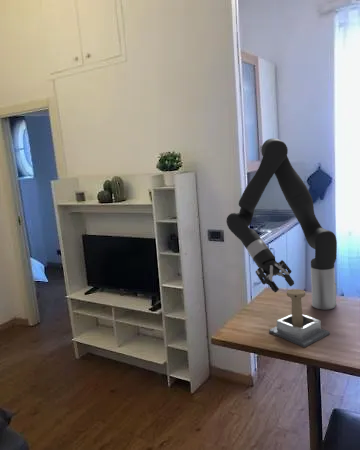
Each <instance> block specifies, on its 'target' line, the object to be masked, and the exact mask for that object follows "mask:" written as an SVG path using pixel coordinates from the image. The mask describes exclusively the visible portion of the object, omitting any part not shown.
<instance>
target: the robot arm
mask: <svg viewBox="0 0 360 450" xmlns="http://www.w3.org/2000/svg"><path fill="white" fill-rule="evenodd" d="M288 150H289V149H288V145H286V143H285V142H284V141H282V140H281V139H279V138H268V139H267V140H265V141H264V142H263V144H262V145H261V151H260V152H261V155H262V158H261V160H260V164H259V166H258V168H257V171H256V172H255V174H254V175H253V177H252V178H251V179H250V181H249V182H248V184H247V185H246V187H245V188H244V190H243V192H242V195H241V196H240V199H239V201H238V206H239V207H240V209H239V212H233V213H232V212H231V213H229V214H228V215H227V217H226V225H227V228H228V229H229V231H230V232H231V233H232V234H234V235H235V237H236V238H237V239H239V241H240V242H241V243H242V245H243V246H244V247H245V249H246V250H247V253H248V254H249V256H250V257H251V259H252V260H253V262H254V264H255V265H256V266H257V269H256V270H255V274H256V276H257V277H258V279H259V280H260V283H261V284H262V285H267V286H269V288H271V290H272V291H273V292H274V293H277V292H278V291H280V289H279V287H278V286H277V284H276V283H275V281H274V280H273V277H274V276H279V277H281V278H284V280H285V282H286V283H287V284H288V286H289V287H292V286H294V285H295V281H294V280H293V278H292V277H291V275H290V274H291V273H292V270H291V268H290V267H289V266H288V264H287V263H286V262H285V261H284V260H283V259H281V260H280V261H277V260H276V256H275V254H273V253H272V251H271V250H270V248H269V246H268V245H267V244H266V243H265V241H264V240H263V239H262V237H261V236H260V235H259V234H258V232H257V231H256V230H255V229H252V228H250V225H251V224H252V221H253V217H254V213H255V209H256V207H257V205H258V204H259V202H260V200H261V197H262V195H263V193H264V192H265V190H266V188H267V186H268V184H269V182H270V181H271V179H272V178H273V176H274V175H275V178H276V180H277V182H278V185H279V188H280V190H281V192H282V194H283V196H284V198H285V201H286V203H288V206H289V208H290V209H291V211H292V212H293V215H294V216H295V218H296V221H298V223H299V226H300V228H301V230H302V232H303V234H304V235H303V236H304V238H305V240H306V243H307V245H309V246H310V247H311V248H312V249H313V250H314V258H312V259H311V260H310V281H311V307H313V308H315V309H317V310H325V311H326V310H327V311H328V310H332V309H334V308H336V305H337V283H336V282H335V281H336V278H335V277H336V275H335V263H336V262H337V261H336V260H337V250H338V248H337V247H338V245H337V244H338V241H337V236H336V234H335V233H334V232H333V231H331V230H328V229H325V228H323V226H322V225H321V223H320V222H319V220H318V218H317V217H316V214H315V209H314V200H313V197H312V195H311V193H310V191H309V189H308V187H307V185H306V184H305V182H304V181H303V179H302V178H301V176H300V175H299V174H298V173H297V171H296V170H295V168H294V167H293V165H292V164H291V163H292V162H290V160H289V157H288V153H289V152H288Z"/></svg>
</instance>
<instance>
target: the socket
mask: <svg viewBox="0 0 360 450" xmlns="http://www.w3.org/2000/svg"><path fill="white" fill-rule="evenodd" d="M321 324H322V323H321V319H318V318H315V317H312V316H310V315H306V314H303V327H301V328H299V327H297V326H294V325H293V323H292V313H291V314H289V315H286V316H284V317H282V318H279V319H277V320H276V326H274V327H271V328H270V329H268V330H269V331H268V332H269V333H270V334H273V335H275V336H277V337H279V338H282V339H284V340H286V341H289V342H290V343H293V344H295V345H298V346H300V347H303V348H306V347H308V346H310V345H312V344H314V343H315V342H317V341H318V342H319V340H321V339H324V338H325V337H328V336H329V335H330V334H331V333H330V331H329V330H326V329H324V328H321V327H322V325H321Z"/></svg>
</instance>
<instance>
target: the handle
mask: <svg viewBox="0 0 360 450" xmlns="http://www.w3.org/2000/svg"><path fill="white" fill-rule="evenodd" d="M286 296H287V297H289V298H290V299H291V314H292V323H293V325H294V326H297V327H299V328H301V327H303V312H304V311H303V305H302V298H304V297H305V296H306V291H305V290H303V289H299V288H298V289H294V288H293V289H288V290H286Z"/></svg>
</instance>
